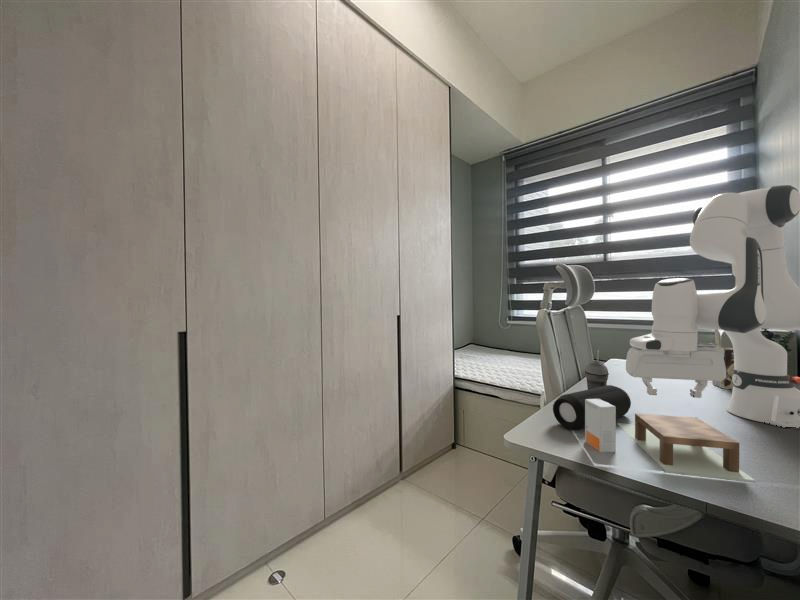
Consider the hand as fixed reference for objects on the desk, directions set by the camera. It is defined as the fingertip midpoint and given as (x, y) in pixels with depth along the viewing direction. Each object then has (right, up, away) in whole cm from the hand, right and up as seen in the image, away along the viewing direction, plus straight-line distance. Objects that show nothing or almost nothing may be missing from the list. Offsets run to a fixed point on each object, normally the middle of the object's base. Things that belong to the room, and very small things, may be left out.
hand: (673, 395), depth 80 cm
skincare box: (-18, -14, +1) cm, 23 cm away
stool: (+1, -10, +4) cm, 10 cm away
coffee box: (+67, -12, +49) cm, 84 cm away
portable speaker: (-10, -14, +18) cm, 24 cm away
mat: (0, -14, 0) cm, 14 cm away
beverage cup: (0, -13, +31) cm, 34 cm away
